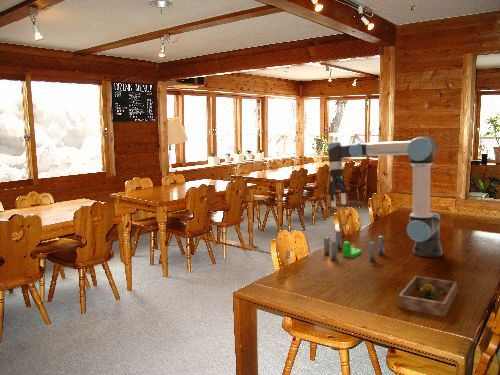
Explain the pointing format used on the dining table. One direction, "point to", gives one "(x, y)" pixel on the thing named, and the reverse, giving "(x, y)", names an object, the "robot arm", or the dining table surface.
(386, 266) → the dining table surface
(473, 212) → the dining table surface
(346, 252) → the mechanical part
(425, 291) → the christmas decoration
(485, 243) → the dining table surface
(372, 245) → the spacer posts
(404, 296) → the wooden tray
